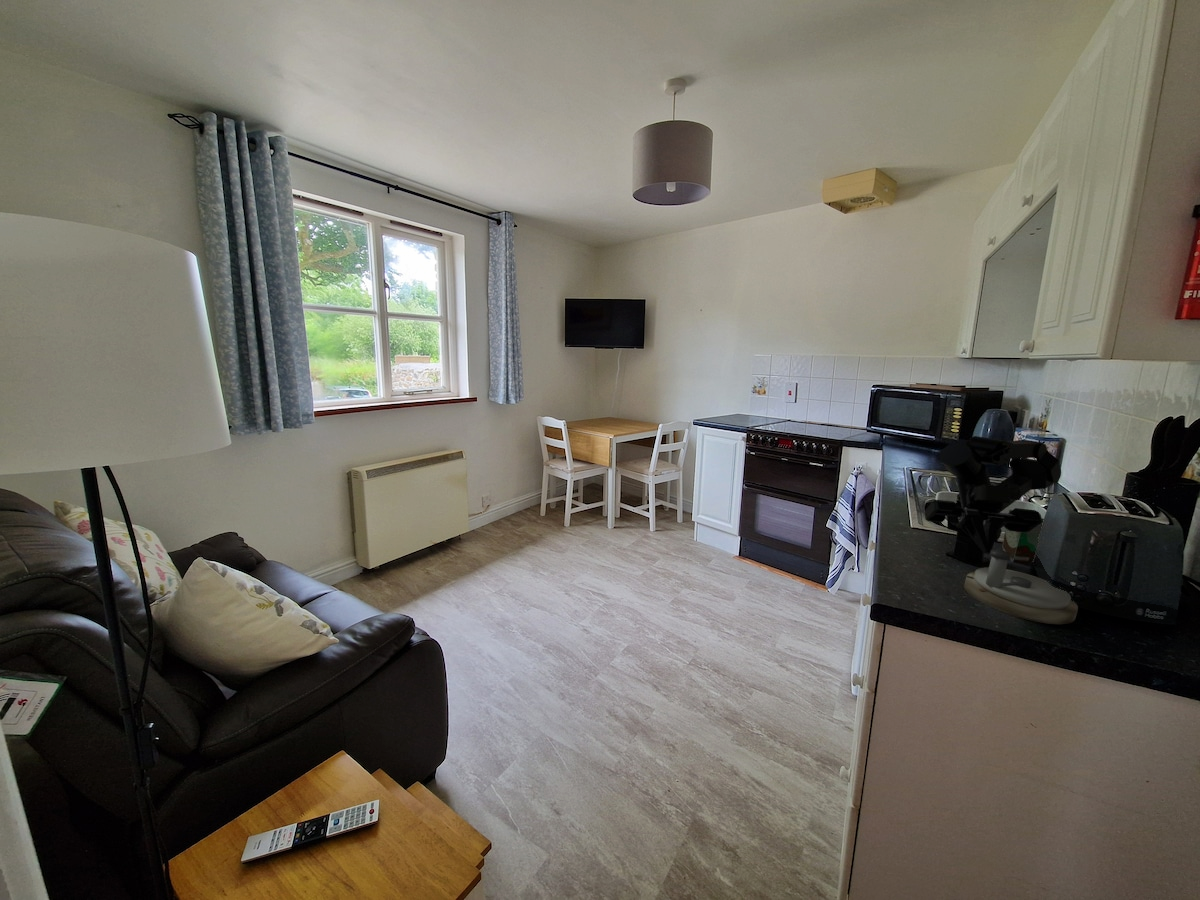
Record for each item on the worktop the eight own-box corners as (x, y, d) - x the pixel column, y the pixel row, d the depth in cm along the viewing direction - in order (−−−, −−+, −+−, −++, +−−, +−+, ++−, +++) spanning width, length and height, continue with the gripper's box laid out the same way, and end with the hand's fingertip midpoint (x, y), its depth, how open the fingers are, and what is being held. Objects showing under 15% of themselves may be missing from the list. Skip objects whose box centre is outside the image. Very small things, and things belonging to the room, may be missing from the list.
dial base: (990, 574, 100) (992, 565, 100) (1092, 612, 86) (1095, 602, 85) (947, 588, 94) (949, 578, 93) (1049, 632, 79) (1052, 621, 79)
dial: (960, 568, 98) (968, 533, 96) (1039, 578, 94) (1048, 542, 92) (996, 601, 84) (1005, 561, 83) (1089, 614, 81) (1101, 573, 79)
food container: (1049, 571, 103) (1060, 530, 100) (1014, 564, 106) (1024, 524, 103) (1031, 551, 113) (1041, 513, 111) (1000, 545, 116) (1008, 509, 114)
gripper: (939, 463, 96) (950, 530, 89) (1048, 473, 91) (1070, 545, 83) (920, 488, 105) (928, 551, 98) (1018, 498, 100) (1035, 566, 92)
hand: (987, 553), depth 92 cm, fingers closed
